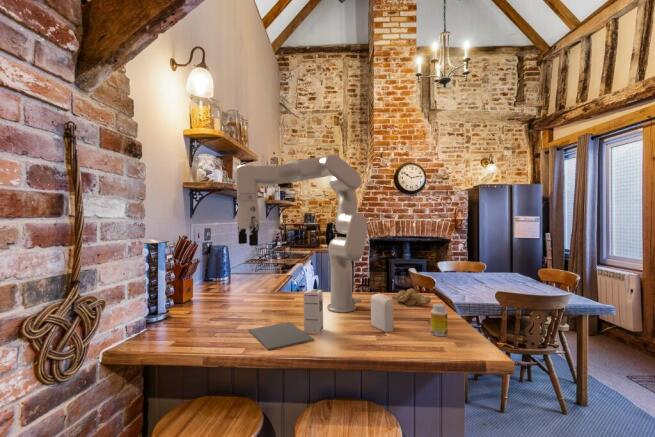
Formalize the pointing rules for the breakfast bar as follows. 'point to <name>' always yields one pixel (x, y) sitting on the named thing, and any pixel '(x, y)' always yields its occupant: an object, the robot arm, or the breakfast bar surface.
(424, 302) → the ginger root
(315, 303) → the syrup box
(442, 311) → the supplement bottle
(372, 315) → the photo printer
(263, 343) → the mat
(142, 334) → the breakfast bar surface
